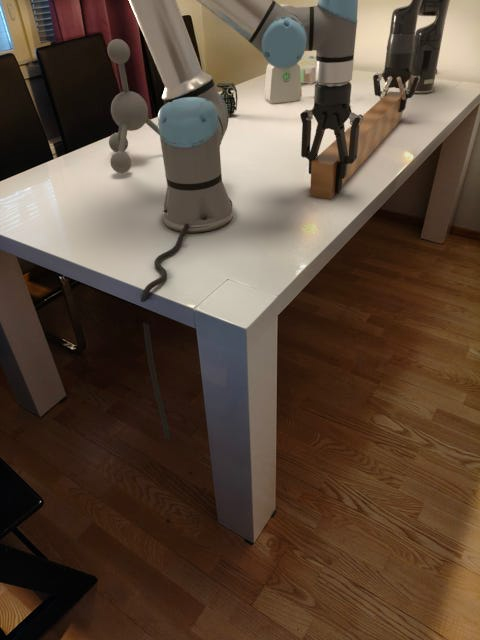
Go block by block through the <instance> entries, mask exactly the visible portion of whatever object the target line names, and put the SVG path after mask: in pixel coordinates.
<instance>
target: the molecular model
mask: <svg viewBox="0 0 480 640" xmlns="http://www.w3.org/2000/svg"><path fill="white" fill-rule="evenodd" d="M107 55H108V57H109V59H110V60H111V61H112V62H113V63H115V64H117V67H118V71H119V76H120V77H119V78H120V82H121V88H122V91H121V92H119V93H118V94H116V95H115V96H114V98H113V99H112V101H111V105H110V115H111V117H112V120H113V121H114V122H115V124H116V125H117V126H118V132H114V133H112V134H110V136H109V139H108V146H109V148H110V150H112V151H113V152H114V153H112V155H111V157H110V159H109V162H110V167H111V168H112V170H113V171H115V172H116V173H118V174H126V173H127V172H129V170H131V168H132V163H133V162H132V158H131V156H130V155H129V154H128V153H127V152H125V151H126V150H127V149H128V146H129V141H128V138H127V136H128V131H129V132H131V131H132V132H134V131H137V130H140V129H142V128H143V126H144V125H145V124H146V126H148V127H149V128H151V130H153V131H154V132H155V133H156V134H157V135H159V132H158V124H156V123H155V122H154V121H153V120H151V119H150V118H149V107H148V104H147V102H146V100H145V99H144V97H142V95H141V94H139V93H137V92H135V91H131V90H129V84H128V78H127V73H126V67H125V64H126V63H127V62H128V60H129V59H130V56H131V49H130V46H129V45H128V43H126V42H125V41H124V40H123V39H120V38H115V39H112V40H111V41H110V42H109V43H108V45H107Z"/></svg>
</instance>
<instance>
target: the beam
mask: <svg viewBox="0 0 480 640" xmlns="http://www.w3.org/2000/svg"><path fill="white" fill-rule="evenodd" d="M401 99H402V97H401V93H400V91H389V90H388V92H387V94H386V95H385V96H384V97H383V98H382V99H381V100H380V99H379V100H378V101H377V102H376V103H375V104H374V105H372V106H371V107H370V108H369V109H368V110H367V111H365V112H364V113H363V114H362V116H363V119H362V122H361V124H360V127H359V138H358V150H357V159H356V160H355V161H354V162H353V163H352V164H348V167H347V175H346V177H345V178H344V179H342V187H344V185H345V184H346V182H348V180H349V179H350V178H351V177H352V176H353V175H354V173H355V172H356V171H358V169H359V168H360V167H361V166H362V165H363V164H364V162H366V160H367V159H368V158H369V157H370V156H371V154H372V153H373V152H374V151H375V150H376V149H377V148H378V146H379V145H381V144H382V142H383V141H384V140H385V139H386V137H388V135H389V134H390V133H391V132H392V131H393V130H394V128H396V126H397V125H398V124H399V123H400V122H401V121H402V119H403V118H402V117H403V112H404V111H402V112H399V109H400V102H401ZM350 130H351V126H350V127H348V128H347V129H346V130H345V131H344V132H345V138H346V145H347V151H348V157H349V143H350ZM339 163H340V159H339V153H338V147H337V142H336V139H335V140H334V141H332V143H331V144H330V145H328V146H327V147H326V148H325V149H324V150H322V152H320V154H318V156H317V157H316V158H315V159H314V160H313V161H312V164H311V174H310V189H309V190H310V191H309V195H310V196H309V197H315V198H319V199H320V198H321V199H326V200H332V198H333V197H334V196H335V195H336V194H337V193H335V181H336V168H337V165H338V164H339Z"/></svg>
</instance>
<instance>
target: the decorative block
mask: <svg viewBox="0 0 480 640" xmlns="http://www.w3.org/2000/svg"><path fill="white" fill-rule="evenodd" d="M297 64H298V65H299V66H300V76H301V84H310V85H312V84H314V83H317V81H316V80H315V72H316V56H314V55H310V56H308V57H305V58H301V59H300V61H299V62H298V63H297Z"/></svg>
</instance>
